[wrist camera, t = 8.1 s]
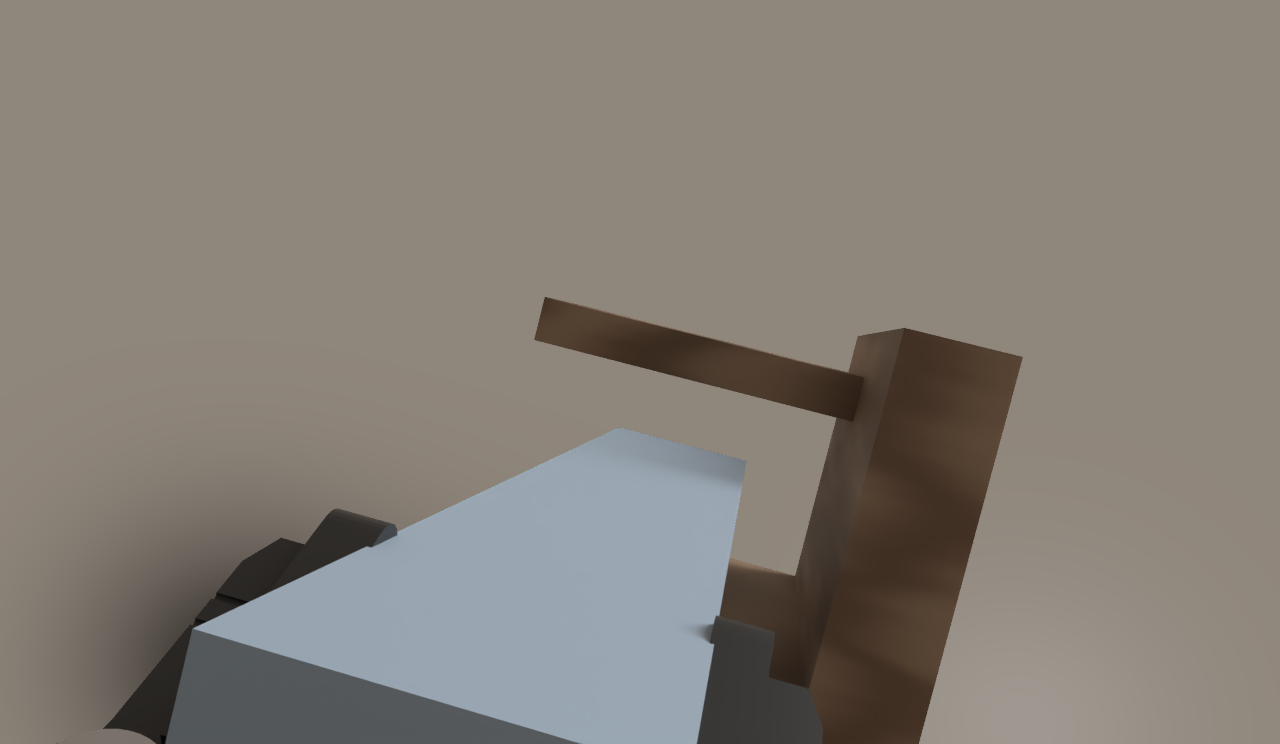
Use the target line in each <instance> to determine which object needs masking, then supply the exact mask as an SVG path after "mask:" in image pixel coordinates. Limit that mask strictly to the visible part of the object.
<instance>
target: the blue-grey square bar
mask: <svg viewBox="0 0 1280 744" xmlns="http://www.w3.org/2000/svg"><path fill="white" fill-rule="evenodd" d="M745 466H746V461H745V460H741V459H737V458H734V457H730V456H726V455H722V454H718V453H715V452H711V451H707V450H703V449H699V448H696V447H691V446H688V445H684V444H680V443H676V442H673V441H669V440H665V439H661V438H657V437H654V436H650V435H646V434H642V433H638V432H635V431H631V430H627V429H623V428H617V429H615V430H612V431H610V432H608V433H606V434H604V435H602V436H600V437H598V438H596V439H593V440H592V441H589V442H587V443H585V444H583V445H581V446H579V447H576V448H574V449H572V450H570V451H568V452H566V453H564V454H562V455H559V456H558V457H556V458H553V459H551V460H549V461H547V462H545V463H543V464H540V465H538V466H536V467H534V468H532V469H530V470H528V471H526V472H523V473H521V474H519V475H517V476H515V477H513V478H511V479H509V480H507V481H504V482H502V483H500V484H498V485H496V486H494V487H492V488H490V489H487V490H486V491H483V492H481V493H479V494H477V495H475V496H473V497H470V498H468V499H466V500H464V501H462V502H460V503H458V504H456V505H454V506H451V507H449V508H447V509H445V510H443V511H441V512H439V513H437V514H435V515H432V516H431V517H428V518H426V519H424V520H422V521H420V522H418V523H415V524H413V525H411V526H409V527H407V528H405V529H403V530H401V531H399V532H397V536H395V537H393V538H391V539H388V540H386V541H384V542H382V543H380V544H378V545H376V546H374V547H372V548H370V547H365V548H362V549H360V550H358V551H356V552H354V553H352V554H350V555H348V556H345V557H343V558H341V559H339V560H337V561H335V562H333V563H331V564H328V565H326V566H324V567H322V568H320V569H318V570H316V571H314V572H312V573H309V574H307V575H305V576H303V577H301V578H299V579H297V580H295V581H292V582H290V583H288V584H286V585H284V586H282V587H280V588H278V589H276V590H273V591H271V592H269V593H267V594H265V595H263V596H261V597H259V598H256V599H254V600H252V601H250V602H248V603H246V604H244V605H242V606H239V607H237V608H235V609H233V610H231V611H229V612H227V613H225V614H223V615H220V616H218V617H216V618H214V619H212V620H210V621H208V622H206V623H203V624H201V625H199V626H197V627H195V628H193V629H192V633H191V637H190V642H189V646H188V650H187V654H186V658H185V663H184V667H183V671H182V675H181V679H180V684H179V688H178V692H177V696H176V701H175V705H174V709H173V713H172V717H171V722H170V726H169V730H168V734H167V738H166V743H165V744H697V740H698V734H699V728H700V722H701V717H702V711H703V705H704V700H705V694H706V688H707V683H708V677H709V671H710V665H711V660H712V654H713V648H714V644H711V643H710V639H711V634H712V629H713V624H714V620H715V617H716V615H717V616H719V614H720V609H721V603H722V597H723V591H724V586H725V580H726V574H727V569H728V563H729V557H730V551H731V546H732V540H733V534H734V529H735V523H736V517H737V512H738V506H739V500H740V495H741V488H742V483H743V477H744V472H745Z"/></svg>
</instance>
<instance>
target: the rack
mask: <svg viewBox="0 0 1280 744" xmlns="http://www.w3.org/2000/svg"><path fill="white" fill-rule="evenodd" d="M535 340H537V341H541V342H545V343H549V344H552V345H557V346H560V347H564V348H568V349H572V350H576V351H580V352H583V353H587V354H592V355H595V356H599V357H603V358H607V359H611V360H615V361H619V362H622V363H626V364H630V365H634V366H638V367H642V368H646V369H650V370H653V371H657V372H661V373H665V374H669V375H674V376H677V377H681V378H685V379H689V380H693V381H697V382H700V383H704V384H708V385H712V386H716V387H720V388H724V389H728V390H731V391H735V392H739V393H743V394H747V395H751V396H755V397H759V398H763V399H766V400H770V401H774V402H778V403H782V404H786V405H790V406H794V407H797V408H801V409H806V410H809V411H813V412H817V413H821V414H825V415H829V416H832V417H836V422H835V426H834V430H833V434H832V438H831V441H830V445H829V449H828V453H827V457H826V461H825V464H824V468H823V472H822V476H821V479H820V483H819V487H818V491H817V495H816V499H815V502H814V506H813V510H812V514H811V518H810V522H809V525H808V530H807V533H806V537H805V541H804V545H803V549H802V553H801V556H800V560H799V564H798V568H797V572H796V575H795V576H792V575H789V574H785V573H782V572H778V571H774V570H771V569H767V568H763V567H760V566H756V565H753V564H749V563H745V562H742V561H738V560H735V559H731V558H729V563H728V569H727V574H726V580H725V586H724V591H723V597H722V603H721V609H720V614H719V616H721V617H725V618H728V619H732V620H735V621H739V622H742V623H746V624H750V625H753V626H757V627H760V628H764V629H767V630H771V631H775V640H774V647H773V653H772V659H771V665H770V671H769V678H772V679H776V680H780V681H783V682H787V683H790V684H794V685H797V686H801V687H804V688H808V689H809V690H810V692H811V695H812V698H813V701H814V704H815V707H816V709H817V712H818V715H819V718H820V721H821V724H822V726H823V739H822V744H919V741H920V737H921V733H922V729H923V726H924V722H925V718H926V715H927V711H928V707H929V704H930V700H931V696H932V692H933V689H934V685H935V681H936V677H937V674H938V670H939V666H940V663H941V659H942V655H943V651H944V647H945V644H946V640H947V637H948V633H949V629H950V625H951V622H952V618H953V614H954V611H955V607H956V603H957V600H958V596H959V592H960V588H961V585H962V581H963V577H964V573H965V570H966V566H967V562H968V558H969V554H970V551H971V548H972V544H973V540H974V536H975V532H976V529H977V525H978V521H979V518H980V514H981V510H982V506H983V503H984V499H985V495H986V492H987V488H988V484H989V481H990V477H991V473H992V469H993V466H994V462H995V458H996V455H997V451H998V447H999V443H1000V439H1001V436H1002V432H1003V429H1004V425H1005V421H1006V417H1007V414H1008V410H1009V406H1010V403H1011V399H1012V395H1013V391H1014V387H1015V384H1016V380H1017V376H1018V373H1019V369H1020V365H1021V362H1022V357H1020V356H1016V355H1012V354H1008V353H1004V352H1000V351H996V350H992V349H988V348H983V347H979V346H976V345H971V344H967V343H963V342H959V341H955V340H951V339H947V338H943V337H939V336H935V335H931V334H927V333H923V332H919V331H915V330H910V329H906V328H902V329H897V330H890V331H885V332H879V333H874V334H868V335H863V336H858V338H857V342H856V345H855V349H854V353H853V357H852V361H851V365H850V369H849V372H844V371H840V370H836V369H832V368H828V367H824V366H820V365H816V364H812V363H808V362H804V361H800V360H796V359H792V358H788V357H784V356H780V355H776V354H773V353H769V352H764V351H760V350H757V349H753V348H748V347H745V346H741V345H736V344H733V343H729V342H724V341H720V340H717V339H713V338H709V337H705V336H701V335H697V334H693V333H689V332H685V331H681V330H677V329H673V328H669V327H665V326H661V325H657V324H653V323H649V322H645V321H641V320H637V319H633V318H630V317H626V316H622V315H617V314H614V313H609V312H605V311H601V310H598V309H593V308H590V307H586V306H581V305H577V304H573V303H568V302H564V301H560V300H556V299H551V298H547V297H545V299H544V303H543V307H542V311H541V315H540V319H539V323H538V327H537V331H536V335H535Z"/></svg>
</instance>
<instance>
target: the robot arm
mask: <svg viewBox="0 0 1280 744" xmlns="http://www.w3.org/2000/svg"><path fill="white" fill-rule="evenodd" d="M395 536H397V528H396V526H395V525H394V524H391V523H388V522H384V521H381V520H377V519H373V518H370V517H366V516H363V515H359V514H355V513H352V512H348V511H344V510H341V509H334V510H332V511H331V512H330V513H329V514H328V515H327V516H326V518H325V519H324V520H323V521H322V523H321V524H320V525H319V527H318V528H317V529H316V531H315V532H314V533H313V535H312V536H311V537H310V539H309V540H308V541H307V543H306V544H305V545H304V544H301V543H297V542H294V541H290V540H287V539H283V538H280V539H278V540H277V541H275V542H273V543H272V544H270V545H268V546H267V547H265V548H263V549H262V550H260V551H258V552H257V553H255V554H253V555H252V556H250V557H248V558H247V559H245V560H243V561H242V562H241V563H240V565H239V566H238V567H237V568H236V569H235V571H234V572H233V573H232V574H231V576H230V577H229V578H228V579H227V580H226V582H225V583H224V584H223V585H222V587H221V588H220V589H219V590H218V592H217V594H216V597H215V599H211V600H210V601H209V602H208V603H207V605H206V606H205V607H204V608H203V610H202V611H201V612H200V613H199V615H198V616H197V617H196V618H195V622H194V624H193V625H189V627H188V628H187V629H186V630H185V631H184V633H183V634H182V635H181V636H180V638H179V639H178V640H177V641H176V643H175V644H174V645H173V646H172V647H171V649H170V650H169V651H168V652H167V653H166V655H165V656H164V657H163V658H162V659H161V661H160V662H159V663H158V664H157V666H156V667H155V668H154V669H153V670H152V672H151V673H150V674H149V675H148V677H147V678H146V679H145V680H144V681H143V683H142V684H141V685H140V686H139V688H138V689H137V690H136V691H135V692H134V694H133V695H132V696H131V697H130V698H129V700H128V701H127V702H126V703H125V705H124V706H123V707H122V708H121V710H120V711H119V712H118V713H117V714H116V715H115V717H114V718H113V719H112V720H111V721H110V722H109V723H108V724H107V725H106V727H104V728H103V729H101V730H93V731H88V732H84V733H80V734H77V735H74V736H72V737H69V738H67V739H64V740H63V741H60V742H59V743H57V744H165V743H166V738H167V734H168V730H169V726H170V722H171V717H172V713H173V709H174V705H175V701H176V696H177V692H178V688H179V684H180V679H181V675H182V671H183V667H184V663H185V658H186V654H187V650H188V646H189V642H190V637H191V633H192V629H193V628H195V627H197V626H199V625H201V624H203V623H206V622H208V621H210V620H212V619H214V618H216V617H218V616H220V615H223V614H225V613H227V612H229V611H231V610H233V609H235V608H237V607H239V606H242V605H244V604H246V603H248V602H250V601H252V600H254V599H256V598H259V597H261V596H263V595H265V594H267V593H269V592H271V591H273V590H276V589H278V588H280V587H282V586H284V585H286V584H288V583H290V582H292V581H295V580H297V579H299V578H301V577H303V576H305V575H307V574H309V573H312V572H314V571H316V570H318V569H320V568H322V567H324V566H326V565H328V564H331V563H333V562H335V561H337V560H339V559H341V558H343V557H345V556H348V555H350V554H352V553H354V552H356V551H358V550H360V549H362V548H365V547H370V548H372V547H374V546H376V545H378V544H380V543H382V542H384V541H386V540H388V539H391V538H393V537H395ZM774 640H775V631H771V630H767V629H764V628H760V627H757V626H753V625H750V624H746V623H742V622H739V621H735V620H732V619H728V618H725V617H721V616H717V615H716V617H715V620H714V624H713V629H712V634H711V639H710V643H711V644H714V648H713V654H712V660H711V665H710V671H709V677H708V683H707V688H706V694H705V700H704V705H703V711H702V717H701V722H700V728H699V734H698V740H697V744H822V739H823V726H822V724H821V721H820V718H819V715H818V712H817V709H816V707H815V704H814V701H813V698H812V695H811V692H810V690H809V689H808V688H804V687H801V686H797V685H794V684H790V683H787V682H783V681H780V680H776V679H772V678H769V671H770V665H771V659H772V653H773V647H774Z"/></svg>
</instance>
